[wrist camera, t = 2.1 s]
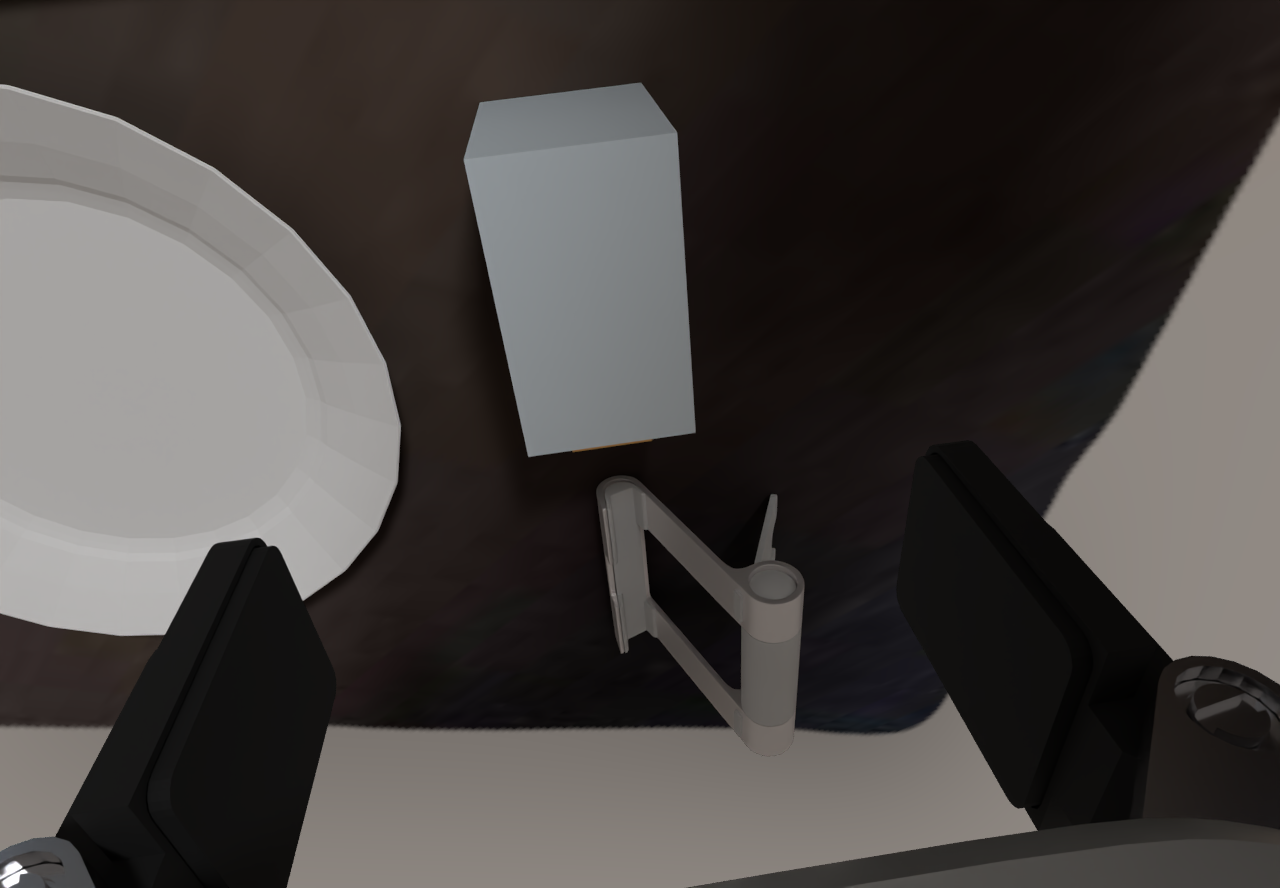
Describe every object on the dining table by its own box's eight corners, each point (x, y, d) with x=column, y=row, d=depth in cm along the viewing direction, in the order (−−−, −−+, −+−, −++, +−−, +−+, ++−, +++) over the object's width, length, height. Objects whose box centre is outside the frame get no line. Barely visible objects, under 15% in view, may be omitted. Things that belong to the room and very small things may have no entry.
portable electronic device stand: (594, 477, 32) (612, 628, 25) (778, 453, 32) (845, 594, 25) (613, 619, 37) (632, 778, 30) (772, 596, 37) (827, 748, 30)
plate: (-371, -57, 19) (-466, -55, 17) (462, 197, 25) (457, 219, 23) (-195, 548, 30) (-244, 590, 28) (365, 628, 35) (356, 666, 34)
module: (640, 82, 24) (677, 132, 18) (662, 335, 28) (695, 437, 23) (479, 102, 23) (463, 159, 18) (529, 353, 28) (529, 462, 23)
